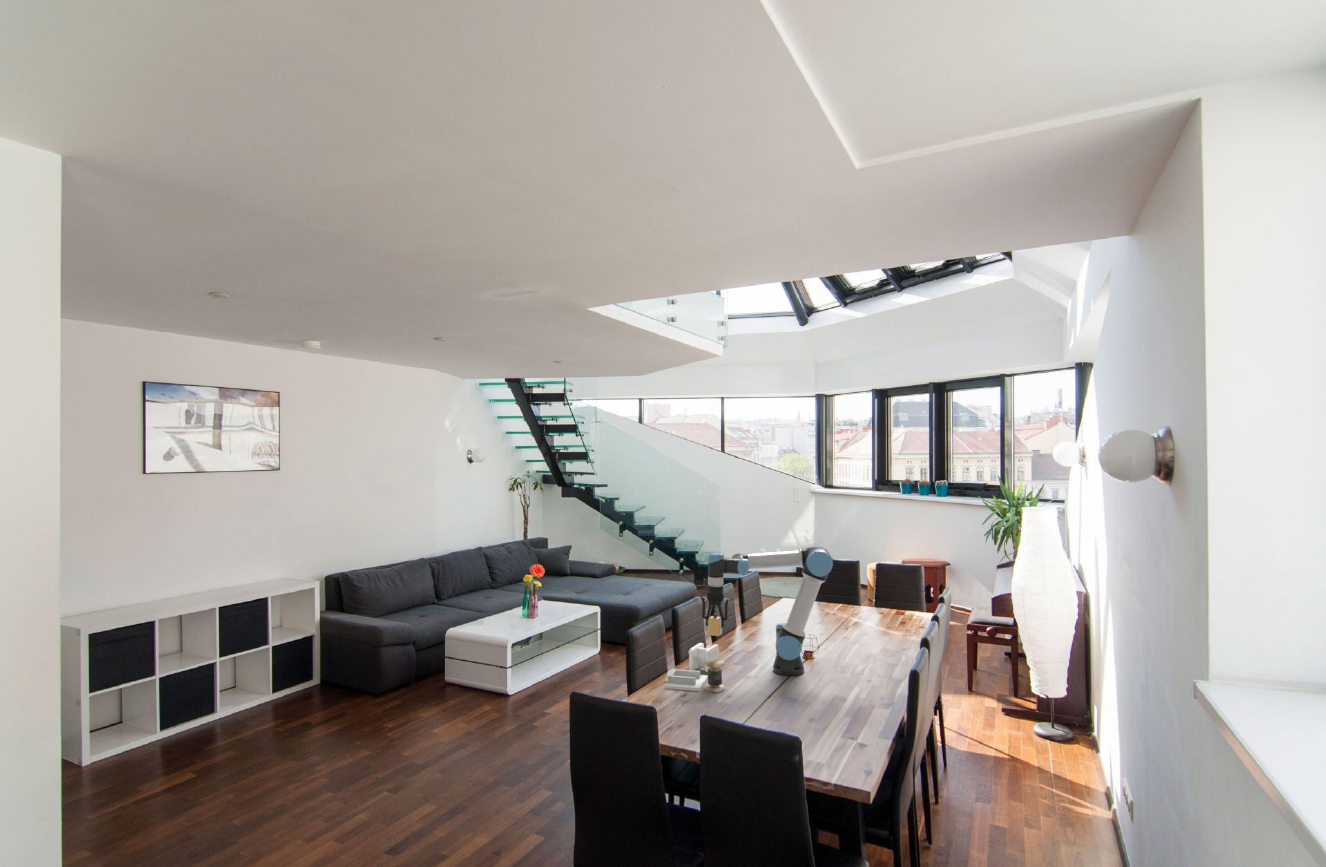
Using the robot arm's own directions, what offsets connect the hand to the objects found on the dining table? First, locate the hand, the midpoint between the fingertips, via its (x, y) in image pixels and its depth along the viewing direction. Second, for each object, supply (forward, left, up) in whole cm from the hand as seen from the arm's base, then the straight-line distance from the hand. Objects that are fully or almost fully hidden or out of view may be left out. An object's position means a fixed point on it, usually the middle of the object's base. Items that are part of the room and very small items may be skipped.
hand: (714, 633), depth 324 cm
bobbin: (-3, +17, -21) cm, 27 cm away
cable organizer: (+8, -9, -21) cm, 24 cm away
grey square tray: (+11, +13, -21) cm, 27 cm away
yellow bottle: (0, 0, 0) cm, 0 cm away
